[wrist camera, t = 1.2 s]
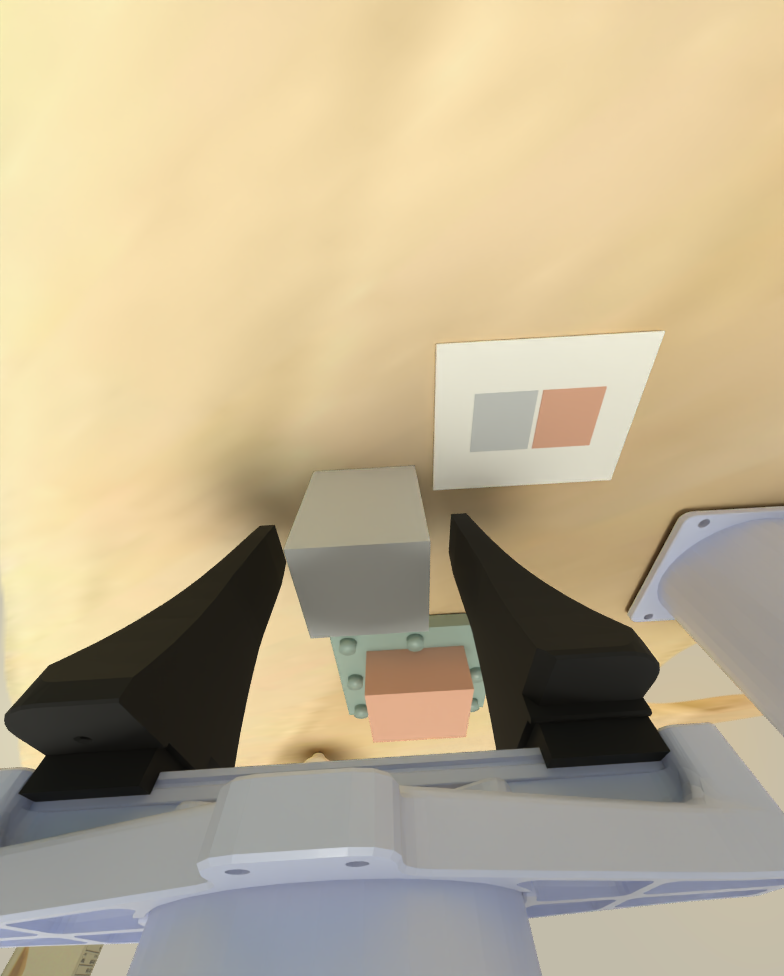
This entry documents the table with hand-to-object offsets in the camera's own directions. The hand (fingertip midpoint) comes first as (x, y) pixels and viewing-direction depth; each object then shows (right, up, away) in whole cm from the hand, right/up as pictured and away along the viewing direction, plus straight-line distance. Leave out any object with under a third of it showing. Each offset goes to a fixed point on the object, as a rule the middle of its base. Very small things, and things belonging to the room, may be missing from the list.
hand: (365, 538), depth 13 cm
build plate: (+3, -10, +9) cm, 13 cm away
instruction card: (+7, +5, 0) cm, 8 cm away
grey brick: (0, +1, +2) cm, 2 cm away
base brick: (+3, -10, +8) cm, 13 cm away
